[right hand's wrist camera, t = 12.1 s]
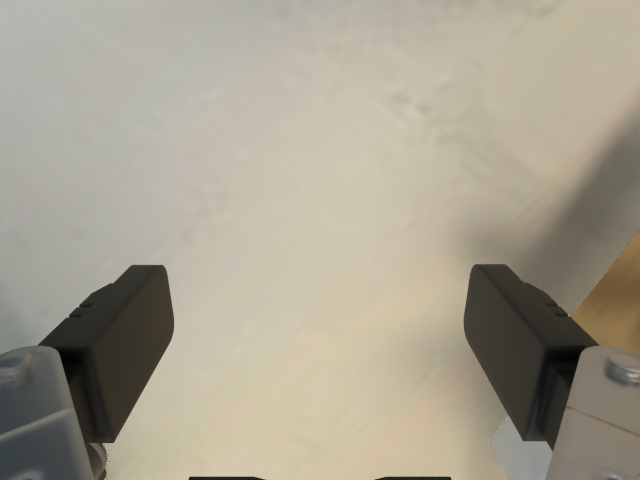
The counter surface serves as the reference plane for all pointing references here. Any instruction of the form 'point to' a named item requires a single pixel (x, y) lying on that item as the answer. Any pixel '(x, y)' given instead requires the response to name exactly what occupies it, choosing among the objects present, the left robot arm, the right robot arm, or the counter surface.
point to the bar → (615, 303)
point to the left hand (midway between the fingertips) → (585, 409)
